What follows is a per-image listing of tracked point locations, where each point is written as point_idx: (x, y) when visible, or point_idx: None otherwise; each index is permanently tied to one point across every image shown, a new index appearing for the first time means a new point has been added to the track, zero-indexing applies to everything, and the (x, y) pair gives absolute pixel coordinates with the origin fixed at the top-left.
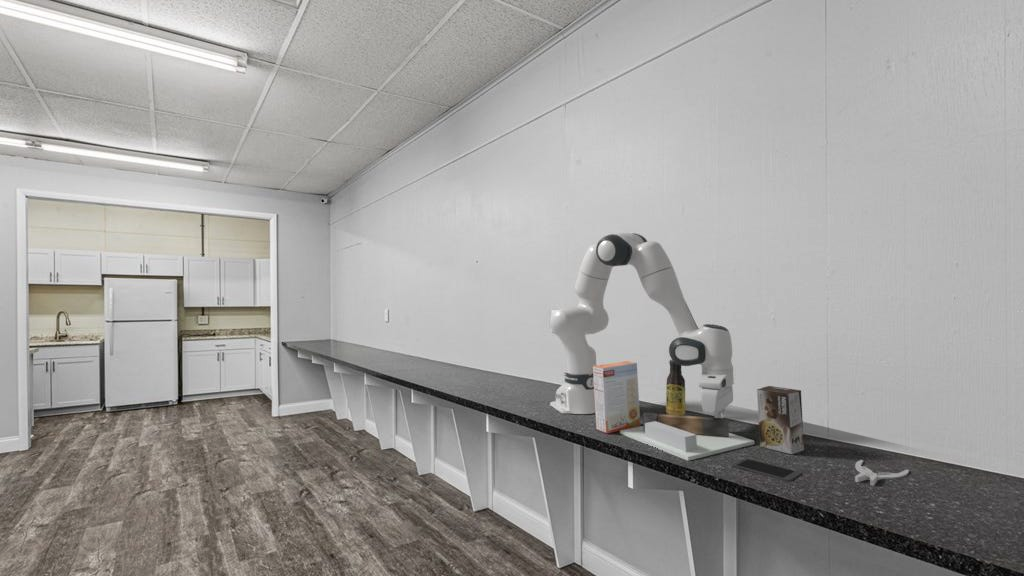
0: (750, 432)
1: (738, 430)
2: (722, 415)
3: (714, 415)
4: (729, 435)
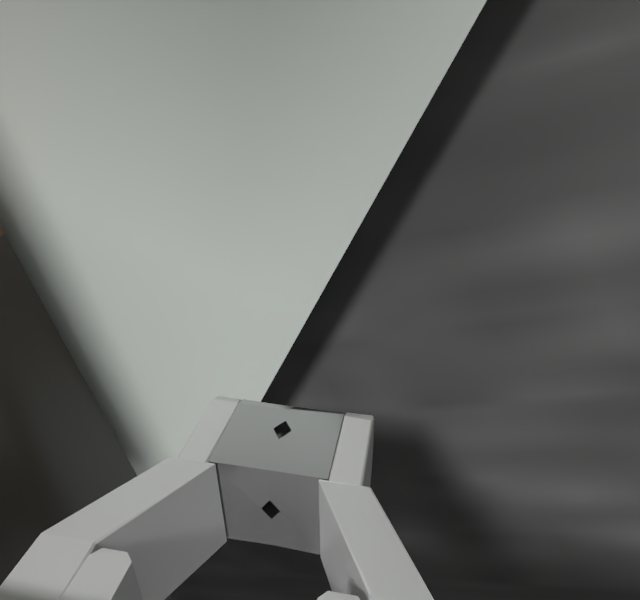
0: (487, 575)
1: (521, 495)
2: (325, 568)
3: (114, 497)
4: (144, 468)
